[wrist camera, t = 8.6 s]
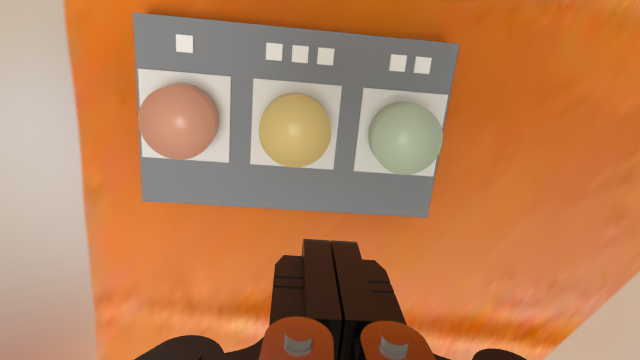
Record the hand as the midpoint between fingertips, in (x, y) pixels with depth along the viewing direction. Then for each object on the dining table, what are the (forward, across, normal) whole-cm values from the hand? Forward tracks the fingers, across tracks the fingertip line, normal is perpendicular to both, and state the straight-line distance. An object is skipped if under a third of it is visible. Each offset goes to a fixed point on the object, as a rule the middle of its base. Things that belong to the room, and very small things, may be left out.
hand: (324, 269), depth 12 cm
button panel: (+19, +1, -1) cm, 19 cm away
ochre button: (+16, +1, -1) cm, 16 cm away
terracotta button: (+16, +8, -1) cm, 18 cm away
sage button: (+16, -6, -1) cm, 17 cm away
